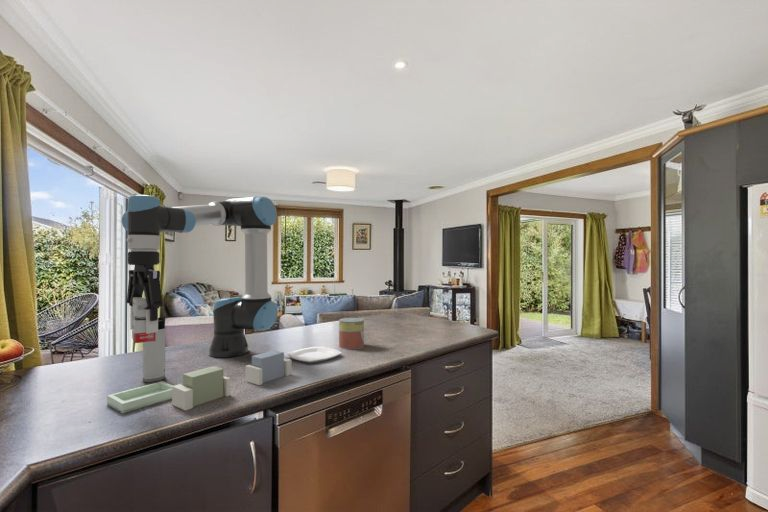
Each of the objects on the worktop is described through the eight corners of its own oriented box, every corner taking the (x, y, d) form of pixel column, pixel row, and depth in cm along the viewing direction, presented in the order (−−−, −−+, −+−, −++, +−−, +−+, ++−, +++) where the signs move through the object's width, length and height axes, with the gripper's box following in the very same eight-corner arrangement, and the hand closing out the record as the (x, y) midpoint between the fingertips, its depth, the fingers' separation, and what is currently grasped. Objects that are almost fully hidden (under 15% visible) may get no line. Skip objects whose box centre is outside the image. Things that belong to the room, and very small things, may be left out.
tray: (107, 404, 100) (107, 395, 100) (162, 389, 111) (162, 381, 111) (122, 413, 94) (122, 403, 94) (178, 396, 106) (178, 387, 106)
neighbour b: (251, 380, 119) (251, 356, 119) (274, 373, 127) (274, 350, 127) (261, 383, 116) (261, 358, 116) (283, 376, 124) (283, 352, 124)
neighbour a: (182, 402, 101) (182, 374, 101) (213, 392, 109) (213, 365, 109) (192, 407, 98) (192, 377, 98) (223, 396, 106) (223, 368, 106)
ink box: (156, 341, 101) (156, 298, 101) (134, 343, 98) (134, 299, 98) (152, 336, 108) (152, 295, 108) (131, 338, 104) (131, 297, 104)
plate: (348, 357, 148) (348, 352, 148) (308, 368, 134) (308, 362, 134) (319, 349, 161) (319, 344, 161) (280, 358, 147) (280, 353, 147)
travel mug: (170, 377, 123) (170, 317, 123) (152, 383, 117) (152, 320, 117) (156, 375, 125) (156, 316, 125) (138, 381, 119) (138, 319, 119)
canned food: (363, 349, 159) (363, 321, 159) (337, 349, 159) (337, 321, 159) (364, 343, 170) (364, 317, 170) (340, 343, 170) (340, 317, 170)
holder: (172, 404, 100) (172, 386, 100) (278, 370, 129) (278, 356, 129) (185, 410, 96) (185, 391, 96) (291, 374, 125) (291, 359, 125)
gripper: (112, 251, 106) (112, 328, 106) (146, 250, 93) (146, 337, 93) (141, 251, 112) (141, 324, 112) (177, 250, 100) (177, 332, 100)
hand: (143, 330), depth 103 cm, fingers closed on ink box, 9 cm apart
